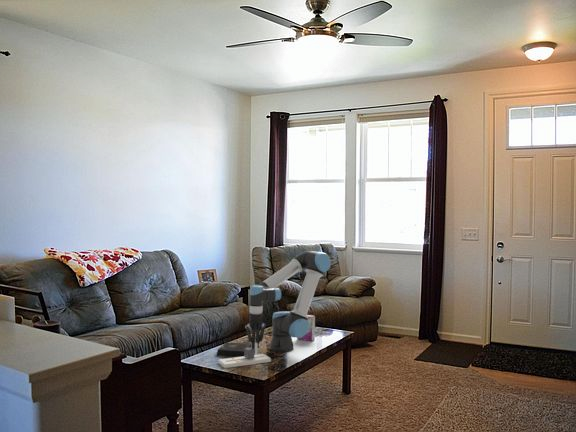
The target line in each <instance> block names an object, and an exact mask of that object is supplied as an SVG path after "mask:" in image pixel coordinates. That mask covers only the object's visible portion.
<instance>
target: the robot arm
mask: <svg viewBox="0 0 576 432" xmlns="http://www.w3.org/2000/svg"><path fill="white" fill-rule="evenodd" d="M331 264H332V261H331V258H330V256H329V255H328V254H327V252H322V251H315V250H314V251H313V250H307V251H304V252H301V253H299V254H298V255H296V256H294V257H293V258H292V259H291V261H290V262H289V263H287V264H286V265H285V266H283V267H282V268H281V269H279V270H278V271H276V272H274V274H272V275H270V276H269V277H268V278H266V279H264V280H263V281H262V282H260V283H259V284H257V283H255V284H253V285H251V286H250V290H249V321H248V323H247V325H244V328H245V330H246V335H247V339H248V342H249V343H251V348H253V349H254V355H258V349H259V347H260V342H262V341H263V339H264V333H265V330H266V327H267V326H268V325H267V324H266V323H264V322H263V318H264V317H263V316H264V313H263V310H264V309H263V308H264V306H263V305H264V303H265V302H266V303H267V302H277V301H279V300H281V298H282V290H281V289H280V288H279V287H278V286H280V285H281V284H283V283H284V282H286V281H287V280H288V279H290V278H292V276H294V275H296V274H297V273H302V272H303V271H305V272H306V274H305V277H304V281H303V282H302V284H301V285H302V286H301V288H300V291H299V293H298V296H297V299H296V302H295V304H294V307H293V309H292V310H290V311H285V310H284V311H276V312H273V313H272V318H271V319H272V335H271V339H270V342H269V345H268V346H269V350H270V351H272V352H273V351H274V352H280V353H281V352H282V353H283V352H290V351H293V350H294V346H295V345H294V341H293V339H292V337H293V338H296V339H297V338H301V337H303V336H304V335H305V334H306V333H307V332H308V329H309V325H308V322H307V320H308V316H307V315H308V312H309V309H310V306H311V303H312V302H313V301H312V300H313V298H314V296H315V292H316V289H317V287H318V284H319V281H320V278H322V277H324V274H325V272H328V271H329V270H330V268H331V266H332V265H331Z"/></svg>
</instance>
